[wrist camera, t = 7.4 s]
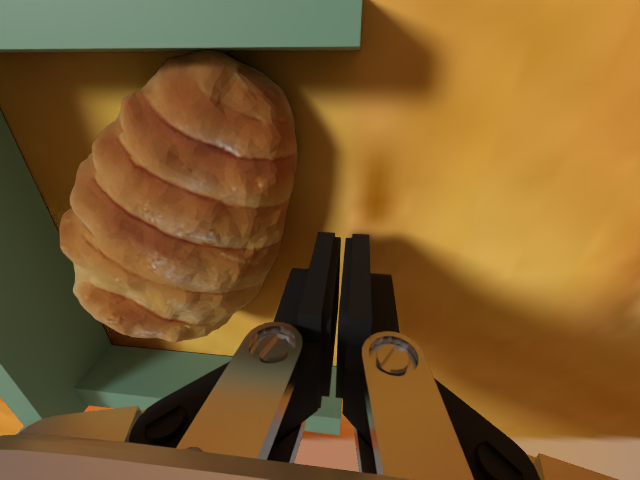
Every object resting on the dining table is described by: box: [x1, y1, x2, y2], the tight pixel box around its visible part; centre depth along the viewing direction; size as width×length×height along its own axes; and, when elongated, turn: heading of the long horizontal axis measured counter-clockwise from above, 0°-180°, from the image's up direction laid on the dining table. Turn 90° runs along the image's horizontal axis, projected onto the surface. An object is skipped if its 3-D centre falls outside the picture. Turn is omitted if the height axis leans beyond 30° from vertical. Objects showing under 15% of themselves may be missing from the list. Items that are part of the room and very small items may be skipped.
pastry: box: [60, 50, 298, 342], centre depth 10 cm, size 9×7×4 cm
